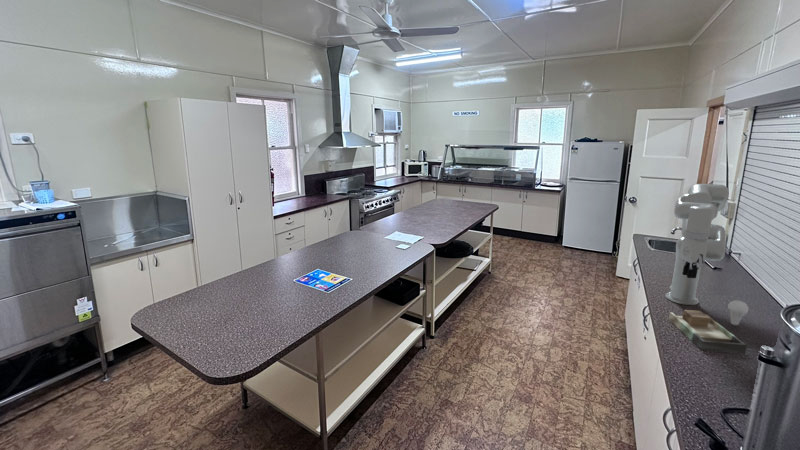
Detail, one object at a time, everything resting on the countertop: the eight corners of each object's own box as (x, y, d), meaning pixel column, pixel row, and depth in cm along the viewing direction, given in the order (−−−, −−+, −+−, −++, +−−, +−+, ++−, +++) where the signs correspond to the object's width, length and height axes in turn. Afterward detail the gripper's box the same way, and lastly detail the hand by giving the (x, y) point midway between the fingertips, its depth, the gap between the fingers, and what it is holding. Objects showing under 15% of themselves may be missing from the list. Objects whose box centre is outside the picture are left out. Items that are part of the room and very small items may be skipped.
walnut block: (682, 318, 149) (683, 309, 149) (698, 319, 148) (700, 310, 147) (690, 325, 144) (692, 316, 143) (707, 326, 143) (709, 317, 142)
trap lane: (668, 319, 153) (669, 312, 152) (705, 321, 150) (706, 314, 149) (701, 349, 131) (702, 341, 130) (745, 353, 128) (747, 345, 127)
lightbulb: (725, 325, 146) (730, 302, 144) (723, 319, 151) (728, 296, 148) (745, 330, 143) (750, 306, 140) (743, 324, 147) (748, 300, 145)
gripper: (675, 230, 154) (669, 269, 159) (698, 240, 139) (690, 283, 144) (695, 230, 153) (687, 270, 157) (720, 241, 138) (711, 284, 142)
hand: (689, 276), depth 150 cm, fingers open, 2 cm apart
